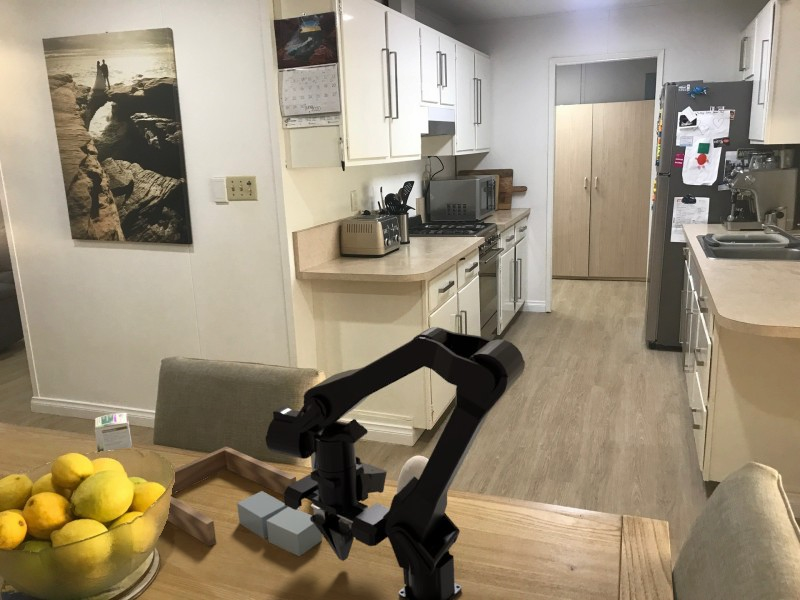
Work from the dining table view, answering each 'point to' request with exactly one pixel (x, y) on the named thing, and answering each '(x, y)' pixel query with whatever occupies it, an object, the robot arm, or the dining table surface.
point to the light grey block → (293, 531)
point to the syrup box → (112, 432)
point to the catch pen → (212, 465)
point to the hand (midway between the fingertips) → (343, 558)
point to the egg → (411, 470)
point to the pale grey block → (258, 512)
